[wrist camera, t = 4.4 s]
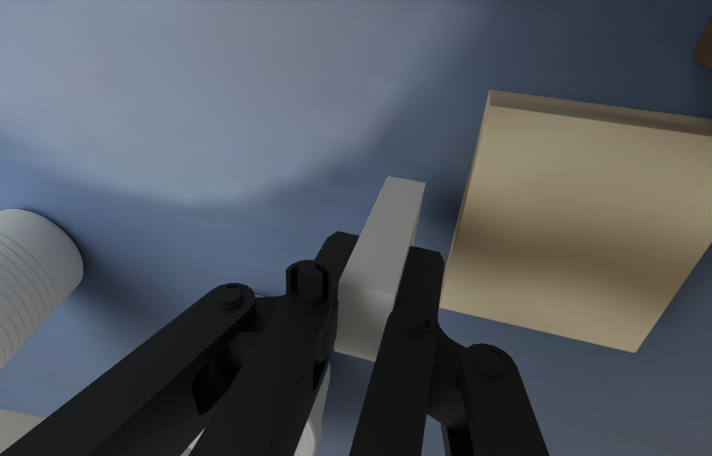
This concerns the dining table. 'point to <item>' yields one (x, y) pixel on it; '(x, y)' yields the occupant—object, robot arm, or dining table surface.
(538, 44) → the dining table surface
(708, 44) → the tray
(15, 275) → the cup
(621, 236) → the tan square slab
